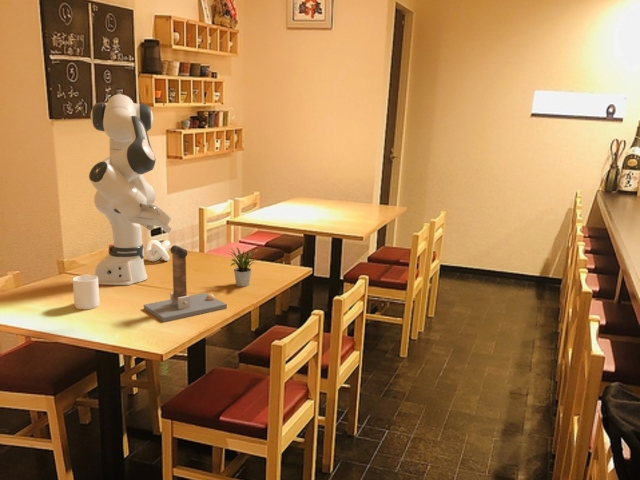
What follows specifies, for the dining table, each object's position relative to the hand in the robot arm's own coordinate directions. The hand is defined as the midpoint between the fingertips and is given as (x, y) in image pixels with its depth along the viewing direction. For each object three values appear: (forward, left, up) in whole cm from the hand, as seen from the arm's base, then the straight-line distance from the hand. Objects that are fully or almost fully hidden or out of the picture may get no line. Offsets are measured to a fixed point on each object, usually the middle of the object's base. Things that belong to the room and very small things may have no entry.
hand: (160, 229), depth 199 cm
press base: (+7, +4, -29) cm, 31 cm away
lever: (+6, +3, -26) cm, 27 cm away
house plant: (+28, +31, -30) cm, 51 cm away
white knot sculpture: (-6, +73, -30) cm, 79 cm away
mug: (-26, +12, -30) cm, 42 cm away
